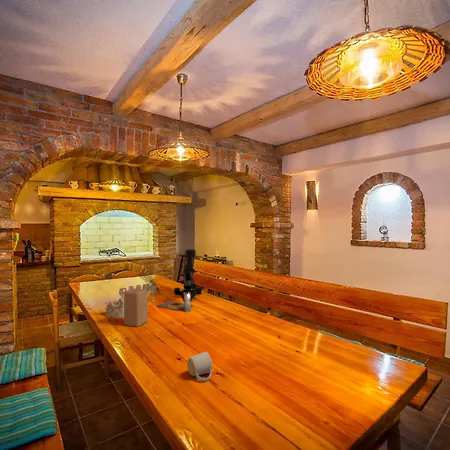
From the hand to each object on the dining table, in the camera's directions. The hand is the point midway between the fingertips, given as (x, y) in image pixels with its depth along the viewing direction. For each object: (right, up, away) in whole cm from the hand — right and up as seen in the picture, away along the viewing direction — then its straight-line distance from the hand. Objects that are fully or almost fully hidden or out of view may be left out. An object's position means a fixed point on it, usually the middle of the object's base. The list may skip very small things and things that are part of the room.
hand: (187, 302), depth 196 cm
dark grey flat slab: (-12, -6, +13) cm, 19 cm away
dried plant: (-43, -7, +51) cm, 67 cm away
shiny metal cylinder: (0, -7, +1) cm, 7 cm away
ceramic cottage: (-44, -7, -3) cm, 45 cm away
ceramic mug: (+16, -7, -81) cm, 83 cm away
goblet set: (-40, -7, +22) cm, 46 cm away
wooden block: (-28, -7, -23) cm, 37 cm away
